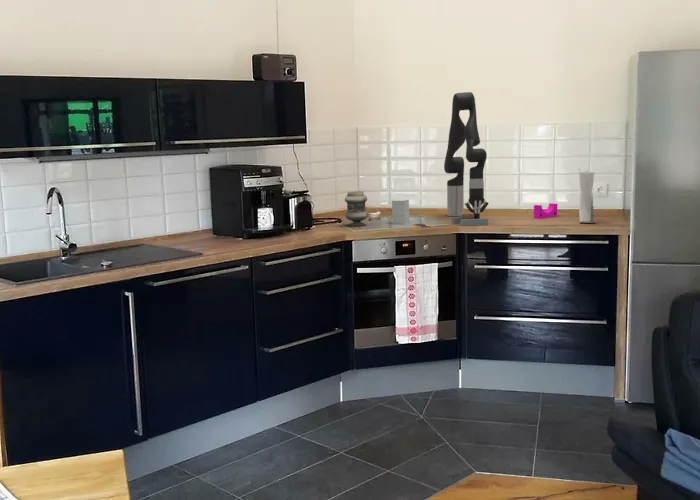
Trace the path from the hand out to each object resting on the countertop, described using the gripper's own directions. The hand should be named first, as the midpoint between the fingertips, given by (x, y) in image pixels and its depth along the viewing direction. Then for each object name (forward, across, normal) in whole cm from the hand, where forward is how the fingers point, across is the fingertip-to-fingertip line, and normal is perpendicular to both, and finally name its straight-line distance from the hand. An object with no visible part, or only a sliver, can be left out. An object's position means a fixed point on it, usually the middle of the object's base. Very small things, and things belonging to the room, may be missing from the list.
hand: (476, 220), depth 417 cm
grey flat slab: (+2, +4, 0) cm, 4 cm away
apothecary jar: (+2, +60, -17) cm, 63 cm away
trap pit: (+2, +29, 0) cm, 29 cm away
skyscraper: (+2, -54, +16) cm, 56 cm away
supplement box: (+2, +36, -18) cm, 40 cm away
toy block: (+2, -45, -14) cm, 47 cm away
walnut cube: (+2, +5, 0) cm, 5 cm away
